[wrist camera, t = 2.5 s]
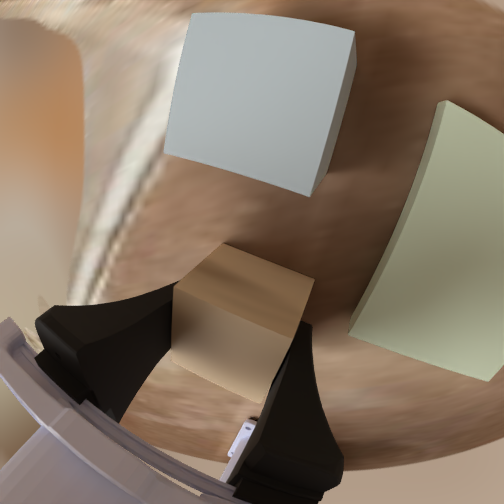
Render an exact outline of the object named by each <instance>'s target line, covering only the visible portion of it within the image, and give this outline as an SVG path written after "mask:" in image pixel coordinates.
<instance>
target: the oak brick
mask: <svg viewBox="0 0 504 504" xmlns="http://www.w3.org/2000/svg"><path fill="white" fill-rule="evenodd" d="M314 281H315V279H313V278H310V277H308V276H305V275H303V274H300V273H297V272H295V271H292V270H290V269H287V268H285V267H282V266H280V265H277V264H275V263H272V262H269V261H267V260H264V259H262V258H259V257H257V256H254V255H252V254H249V253H247V252H244V251H241V250H239V249H236V248H234V247H231V246H229V245H226V244H224V243H222V244H221V245H220V246H219V247H218V248H217V249H215V250H214V251H213V252H212V253H211V254H210V255H209V256H207V257H206V258H205V259H204V260H203V261H202V262H201V263H199V264H198V265H197V266H196V267H195V268H194V269H193V270H192V271H190V272H189V273H188V274H187V275H186V276H185V277H184V278H183V279H181V280H180V281H179V282H178V283H177V284H176V285H175V286H174V291H173V308H172V331H171V361H172V362H174V363H176V364H177V365H179V366H181V367H183V368H185V369H187V370H189V371H191V372H192V373H194V374H196V375H198V376H200V377H202V378H204V379H206V380H208V381H210V382H212V383H214V384H216V385H218V386H221V387H223V388H225V389H227V390H229V391H231V392H234V393H236V394H238V395H240V396H242V397H245V398H247V399H249V400H252V401H254V402H257V403H259V404H261V402H262V400H263V398H264V396H265V394H266V393H267V391H268V389H269V387H270V385H271V383H272V381H273V379H274V377H275V375H276V373H277V371H278V369H279V367H280V365H281V363H282V361H283V359H284V357H285V355H286V353H287V351H288V349H289V347H290V345H291V342H292V340H293V338H294V335H295V333H296V330H297V328H298V325H299V322H300V320H301V317H302V314H303V312H304V309H305V306H306V303H307V301H308V298H309V295H310V292H311V289H312V286H313V284H314Z"/></svg>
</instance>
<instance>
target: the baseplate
mask: <svg viewBox="0 0 504 504" xmlns="http://www.w3.org/2000/svg"><path fill="white" fill-rule="evenodd" d="M348 335H349V336H352V337H354V338H357V339H360V340H363V341H365V342H368V343H371V344H374V345H376V346H379V347H382V348H385V349H388V350H391V351H393V352H396V353H399V354H402V355H405V356H408V357H411V358H414V359H417V360H420V361H423V362H426V363H429V364H432V365H435V366H438V367H441V368H444V369H447V370H451V371H454V372H457V373H460V374H464V375H467V376H470V377H473V378H477V379H480V380H484V381H487V382H488V381H489V380H490V379H491V378H492V377H493V376H494V375H495V374H496V373H497V372H498V371H499V370H500V368H501V367H502V366H503V365H504V134H503V133H501V132H500V131H498V130H497V129H496V128H494V127H492V126H491V125H489V124H488V123H486V122H485V121H483V120H481V119H480V118H478V117H477V116H475V115H473V114H471V113H470V112H468V111H466V110H464V109H463V108H461V107H459V106H457V105H455V104H454V103H452V102H450V101H448V100H445V101H442V102H439V103H438V104H437V108H436V112H435V116H434V119H433V123H432V126H431V130H430V133H429V137H428V140H427V143H426V146H425V150H424V153H423V156H422V159H421V162H420V165H419V168H418V171H417V173H416V176H415V179H414V182H413V184H412V187H411V190H410V192H409V195H408V198H407V200H406V203H405V205H404V208H403V210H402V213H401V215H400V218H399V220H398V222H397V225H396V227H395V229H394V232H393V234H392V236H391V238H390V241H389V243H388V245H387V247H386V249H385V252H384V254H383V256H382V258H381V260H380V262H379V264H378V266H377V268H376V270H375V272H374V274H373V276H372V278H371V280H370V282H369V284H368V286H367V288H366V290H365V292H364V294H363V296H362V298H361V300H360V302H359V303H358V305H357V307H356V309H355V311H354V312H353V314H352V316H351V318H350V323H349V330H348Z"/></svg>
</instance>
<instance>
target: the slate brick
mask: <svg viewBox="0 0 504 504" xmlns="http://www.w3.org/2000/svg"><path fill="white" fill-rule="evenodd" d="M356 67H357V55H356V39H355V31H352V30H348V29H344V28H340V27H336V26H332V25H327V24H322V23H317V22H312V21H307V20H301V19H294V18H287V17H280V16H271V15H260V14H246V13H192V16H191V19H190V23H189V27H188V30H187V34H186V38H185V42H184V46H183V50H182V54H181V59H180V63H179V67H178V72H177V77H176V82H175V86H174V92H173V97H172V102H171V108H170V114H169V120H168V126H167V132H166V139H165V146H164V153H165V154H169V155H173V156H177V157H181V158H185V159H189V160H192V161H196V162H200V163H203V164H207V165H210V166H214V167H217V168H221V169H224V170H228V171H231V172H234V173H238V174H241V175H244V176H247V177H251V178H254V179H257V180H260V181H263V182H266V183H269V184H273V185H276V186H279V187H282V188H285V189H288V190H290V191H293V192H296V193H299V194H302V195H305V196H308V197H310V196H311V194H312V193H313V192H314V190H315V189H316V188H317V186H318V185H319V183H320V182H321V181H322V179H323V178H324V177H325V175H326V174H327V171H328V167H329V164H330V161H331V157H332V154H333V151H334V147H335V144H336V141H337V137H338V134H339V130H340V127H341V123H342V120H343V116H344V112H345V109H346V105H347V101H348V98H349V94H350V90H351V86H352V82H353V79H354V75H355V71H356Z"/></svg>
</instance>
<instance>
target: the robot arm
mask: <svg viewBox="0 0 504 504" xmlns="http://www.w3.org/2000/svg"><path fill="white" fill-rule="evenodd" d="M178 282H179V281H177V282H175V283H172V284H170V285H167V286H165V287H162V288H160V289H157V290H154V291H152V292H149V293H146V294H143V295H140V296H137V297H133V298H129V299H125V300H121V301H116V302H110V303H104V304H97V305H85V306H59V305H54V306H53V307H52V308H50V309H49V310H47V311H46V312H45V313H43V314H42V315H41V316H40V317H38V318H37V319H36V320H35V327H36V330H37V333H38V335H39V337H40V340H41V342H42V344H43V347H44V350H43V351H42V352H40V353H39V354H37V353H36V352H35V351H34V349H33V348H32V347H31V346H30V345H29V344H28V343H27V342H26V339H25V337H24V334H23V333H22V331H21V330H20V328H19V327H18V326H17V325H16V323H15V322H14V321H13V320H12V318H10V317H8V318H7V319H5V320H4V321H3V322H2V323H0V377H1V378H2V380H3V381H4V382H5V384H6V385H7V386H8V388H9V389H10V390H11V392H12V393H13V394H14V395H15V397H16V398H17V399H18V400H19V402H20V403H21V404H22V405H23V406H24V407H25V409H26V410H27V411H28V412H29V413H30V414H31V415H32V416H33V418H34V419H35V420H36V421H37V422H38V423H39V424H40V425H41V427H40V429H38V430H37V431H36V432H35V433H34V434H33V435H32V437H31V438H30V439H29V440H28V441H27V442H26V443H25V444H24V445H23V446H22V447H21V448H20V449H19V450H18V451H17V452H16V453H15V455H14V456H13V457H12V458H11V459H10V460H9V461H8V462H7V463H6V464H5V465H4V466H3V468H2V469H1V470H0V504H318V502H319V501H321V500H322V498H323V495H324V492H325V491H327V490H330V489H332V488H334V487H336V486H337V485H339V484H340V482H341V479H342V475H343V467H344V456H343V455H342V453H341V451H340V449H339V447H338V445H337V443H336V441H335V439H334V437H333V434H332V432H331V430H330V427H329V425H328V422H327V419H326V416H325V413H324V411H323V408H322V404H321V401H320V397H319V393H318V388H317V384H316V378H315V372H314V364H313V354H312V328H313V327H312V325H311V324H309V323H306V322H304V321H301V320H300V322H299V325H298V328H297V330H296V333H295V335H294V338H293V340H292V342H291V345H290V347H289V349H288V351H287V353H286V355H285V357H284V359H283V361H282V363H281V365H280V367H279V369H278V371H277V373H276V375H275V377H274V379H273V381H272V384H271V387H270V390H269V393H268V396H267V399H266V402H265V405H264V408H263V410H262V413H261V415H260V417H259V419H258V421H257V422H256V421H254V420H251V419H247V420H245V422H244V424H243V426H242V428H241V430H240V431H239V433H238V435H237V437H236V439H235V441H234V443H233V445H232V447H231V448H230V450H229V452H228V456H230V457H231V459H230V461H229V463H228V465H227V467H226V469H225V470H224V472H223V474H222V476H221V478H220V480H217V479H215V478H213V477H210V476H208V475H206V474H204V473H202V472H200V471H197V470H196V469H194V468H192V467H189V466H188V465H186V464H184V463H182V462H180V461H178V460H176V459H174V458H172V457H171V456H169V455H167V454H165V453H164V452H162V451H160V450H158V449H157V448H155V447H153V446H152V445H150V444H148V443H147V442H145V441H144V440H142V439H140V438H139V437H137V436H136V435H134V434H133V433H131V432H130V431H128V430H127V429H125V428H124V427H122V426H121V425H120V424H119V422H120V420H121V418H122V417H123V415H124V413H125V411H126V410H127V408H128V406H129V405H130V403H131V401H132V400H133V398H134V397H135V395H136V393H137V392H138V390H139V389H140V387H141V386H142V384H143V383H144V381H145V380H146V378H147V377H148V376H149V374H150V373H151V371H152V370H153V369H154V367H155V366H156V364H157V363H158V362H159V361H160V360H161V358H162V357H163V356H164V355H165V354H166V353H167V352H168V351H169V350H170V348H171V331H172V308H173V291H174V286H175V285H176V284H177V283H178ZM84 418H85V419H86V420H87V421H86V420H85V419H84ZM90 423H91V424H92V425H93V426H92V425H91V424H90ZM95 427H96V428H97V429H96V428H95ZM99 430H100V431H101V432H102V433H101V432H100V431H99ZM103 433H104V434H105V435H106V436H105V435H104V434H103ZM107 436H108V437H109V438H110V439H109V438H108V437H107ZM111 439H112V440H113V441H112V440H111ZM115 442H116V443H117V444H116V443H115ZM118 444H119V445H120V446H119V445H118ZM122 447H123V448H122ZM125 449H126V450H127V451H126V450H125ZM128 451H129V452H130V453H129V452H128ZM131 453H132V454H133V455H132V454H131ZM134 455H135V456H136V457H135V456H134ZM137 457H138V458H140V459H141V460H143V461H144V462H146V463H148V464H149V465H151V466H153V467H154V468H156V469H158V470H160V471H162V472H163V473H165V474H167V475H168V476H171V477H172V478H174V479H176V480H178V481H180V482H182V483H184V484H186V485H188V486H190V487H192V488H194V489H196V490H198V491H200V492H202V493H203V494H201V495H200V497H199V496H197V495H195V494H193V493H191V492H190V491H188V490H186V489H184V488H182V487H181V486H179V485H177V484H175V483H174V482H172V481H170V480H169V479H167V478H165V477H164V476H162V475H161V474H159V473H157V472H156V471H154V470H153V469H151V468H150V467H148V466H147V465H146V464H145V463H143V462H142V461H141V460H139V459H138V458H137Z"/></svg>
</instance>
